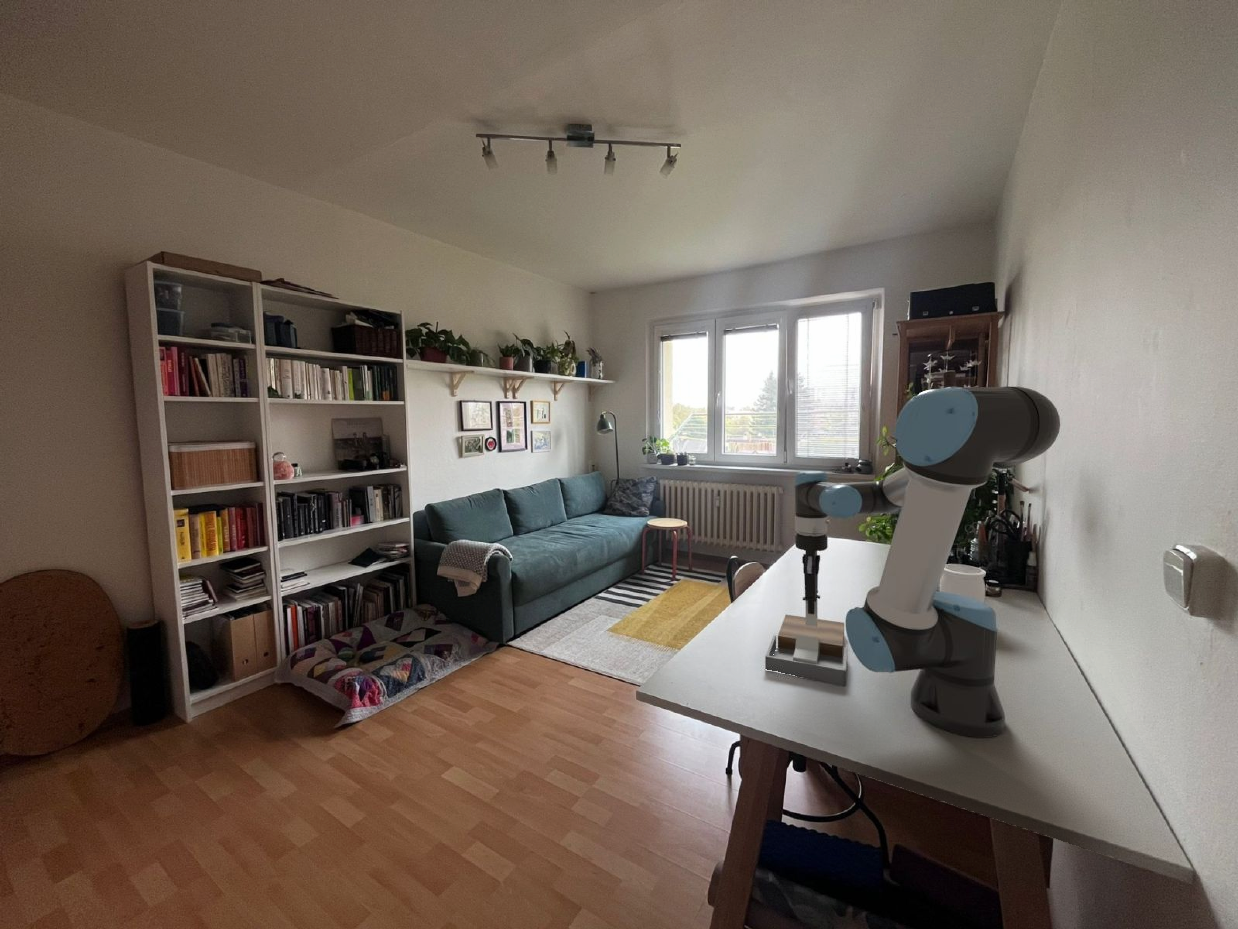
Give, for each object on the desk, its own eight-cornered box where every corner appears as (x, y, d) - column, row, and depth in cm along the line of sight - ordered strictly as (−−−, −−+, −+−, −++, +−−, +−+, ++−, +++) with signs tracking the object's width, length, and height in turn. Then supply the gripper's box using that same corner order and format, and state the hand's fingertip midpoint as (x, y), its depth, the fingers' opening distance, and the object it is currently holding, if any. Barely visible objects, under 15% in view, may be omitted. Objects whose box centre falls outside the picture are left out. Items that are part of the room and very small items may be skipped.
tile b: (817, 653, 114) (818, 638, 116) (795, 649, 116) (796, 634, 118) (819, 658, 118) (819, 644, 119) (797, 655, 120) (798, 640, 122)
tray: (845, 686, 106) (845, 670, 106) (765, 670, 114) (765, 656, 113) (847, 660, 117) (847, 646, 117) (773, 648, 125) (773, 635, 125)
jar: (992, 624, 136) (994, 571, 135) (968, 630, 132) (969, 576, 131) (954, 610, 146) (955, 561, 144) (930, 616, 142) (931, 566, 141)
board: (842, 660, 118) (842, 646, 117) (777, 649, 124) (777, 635, 124) (844, 635, 131) (844, 622, 131) (785, 626, 138) (785, 614, 137)
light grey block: (818, 651, 114) (818, 666, 114) (795, 647, 116) (795, 662, 116) (816, 661, 109) (816, 676, 110) (793, 657, 112) (792, 671, 112)
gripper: (825, 539, 115) (826, 637, 116) (828, 528, 126) (829, 617, 128) (792, 537, 118) (792, 632, 119) (798, 527, 130) (798, 613, 131)
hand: (811, 624), depth 124 cm, fingers closed
